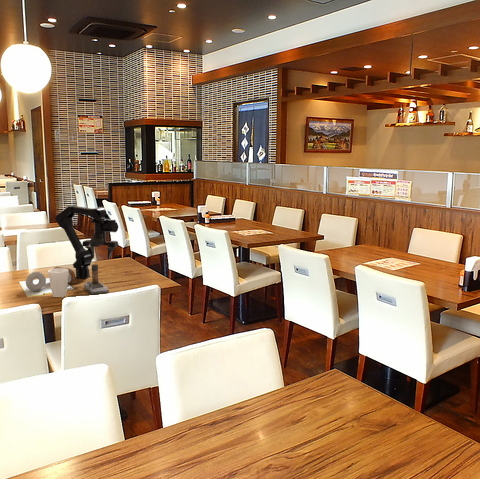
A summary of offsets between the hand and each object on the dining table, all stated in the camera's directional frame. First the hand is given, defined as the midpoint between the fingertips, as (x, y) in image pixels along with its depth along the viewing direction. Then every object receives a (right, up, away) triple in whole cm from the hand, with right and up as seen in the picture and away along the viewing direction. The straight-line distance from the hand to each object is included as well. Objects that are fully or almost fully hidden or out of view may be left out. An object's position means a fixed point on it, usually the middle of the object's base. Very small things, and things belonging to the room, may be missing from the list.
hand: (101, 258), depth 267 cm
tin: (-19, -13, -5) cm, 24 cm away
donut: (-27, -16, -21) cm, 38 cm away
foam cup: (-12, -17, -29) cm, 36 cm away
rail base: (+3, -15, -18) cm, 24 cm away
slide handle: (+2, -14, -17) cm, 22 cm away
